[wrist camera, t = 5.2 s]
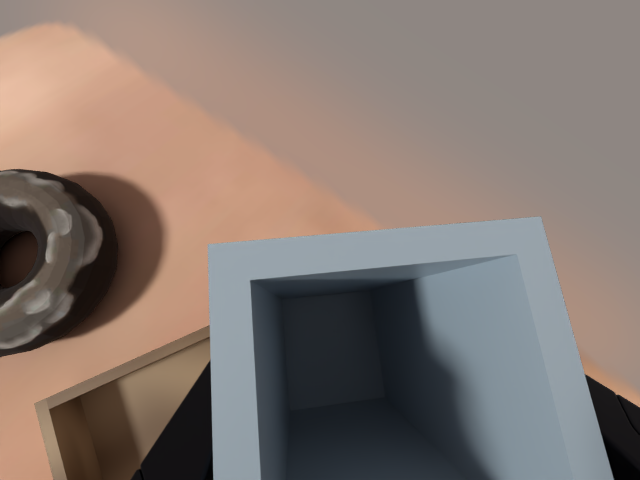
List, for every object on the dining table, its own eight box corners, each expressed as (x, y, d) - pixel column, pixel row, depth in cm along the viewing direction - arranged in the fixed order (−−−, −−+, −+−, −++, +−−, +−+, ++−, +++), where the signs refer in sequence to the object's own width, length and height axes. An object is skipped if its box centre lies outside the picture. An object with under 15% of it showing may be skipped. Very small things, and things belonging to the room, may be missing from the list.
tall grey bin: (395, 405, 14) (666, 669, 4) (277, 422, 13) (220, 786, 3) (377, 278, 15) (540, 216, 5) (269, 288, 15) (207, 244, 5)
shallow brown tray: (304, 479, 19) (305, 509, 16) (126, 579, 17) (92, 633, 14) (239, 314, 21) (230, 315, 18) (72, 389, 19) (34, 403, 16)
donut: (80, 156, 23) (35, 124, 19) (160, 282, 21) (130, 277, 17) (-83, 242, 20) (-172, 227, 16) (-6, 390, 19) (-84, 413, 15)
